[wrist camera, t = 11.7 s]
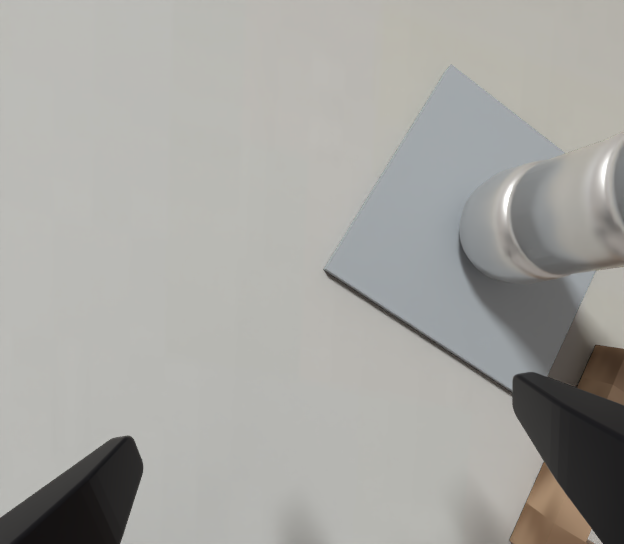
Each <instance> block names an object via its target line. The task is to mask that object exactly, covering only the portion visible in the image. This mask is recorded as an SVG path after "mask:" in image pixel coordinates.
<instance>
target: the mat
mask: <svg viewBox="0 0 624 544" xmlns="http://www.w3.org/2000/svg"><path fill="white" fill-rule="evenodd" d="M562 154H565V152H563V151H562V150H561V149H559V148H558V147H557V146H556V145H554V144H553V143H552V142H550V141H549V140H548V139H547V138H545V137H544V136H543V135H541V134H540V133H539V132H538V131H536V130H535V129H534V128H532V127H531V126H530V125H529V124H527V123H526V122H525V121H523V120H522V119H521V118H520V117H518V116H517V115H516V114H514V113H513V112H512V111H511V110H509V109H508V108H507V107H505V106H504V105H503V104H502V103H500V102H499V101H498V100H496V99H495V98H494V97H493V96H491V95H490V94H489V93H487V92H486V91H485V90H484V89H482V88H481V87H480V86H478V85H477V84H476V83H475V82H473V81H472V80H471V79H469V78H468V77H467V76H466V75H464V74H463V73H462V72H460V71H459V70H458V69H457V68H455V67H454V66H453V65H452V64H451V65H450V66H449V67H448V68H447V69H446V71H445V72H444V74H443V76H442V77H441V79H440V80H439V82H438V84H437V85H436V87H435V89H434V90H433V92H432V94H431V95H430V97H429V98H428V100H427V102H426V103H425V105H424V107H423V108H422V110H421V111H420V113H419V115H418V116H417V118H416V120H415V121H414V123H413V124H412V126H411V128H410V129H409V131H408V133H407V134H406V136H405V137H404V139H403V141H402V142H401V144H400V146H399V147H398V149H397V150H396V152H395V154H394V155H393V157H392V159H391V160H390V162H389V164H388V165H387V167H386V168H385V170H384V172H383V173H382V175H381V177H380V178H379V180H378V181H377V183H376V185H375V186H374V188H373V190H372V191H371V193H370V194H369V196H368V198H367V199H366V201H365V203H364V204H363V206H362V207H361V209H360V211H359V212H358V214H357V216H356V217H355V219H354V220H353V222H352V224H351V225H350V227H349V229H348V230H347V232H346V233H345V235H344V237H343V238H342V240H341V242H340V243H339V245H338V247H337V248H336V250H335V251H334V253H333V255H332V256H331V258H330V260H329V261H328V263H327V264H326V266H325V268H324V269H323V270H325V271H326V272H328V273H330V274H331V275H333V276H334V277H336V278H337V279H339V280H340V281H342V282H343V283H345V284H346V285H348V286H350V287H351V288H353V289H354V290H356V291H357V292H359V293H360V294H362V295H363V296H365V297H366V298H368V299H370V300H371V301H373V302H374V303H376V304H377V305H379V306H380V307H382V308H383V309H385V310H386V311H388V312H390V313H391V314H393V315H394V316H396V317H397V318H399V319H400V320H402V321H403V322H405V323H406V324H408V325H410V326H411V327H413V328H414V329H416V330H417V331H419V332H420V333H422V334H423V335H425V336H426V337H428V338H430V339H431V340H433V341H434V342H436V343H437V344H439V345H440V346H442V347H443V348H445V349H446V350H448V351H450V352H451V353H453V354H454V355H456V356H457V357H459V358H460V359H462V360H463V361H465V362H466V363H468V364H470V365H471V366H473V367H474V368H476V369H477V370H479V371H480V372H482V373H483V374H485V375H486V376H488V377H490V378H491V379H493V380H494V381H496V382H497V383H499V384H500V385H502V386H503V387H505V388H506V389H508V390H510V391H511V392H512V380H513V376H514V375H516V374H520V373H526V372H535V373H538V374H541V375H543V376H546V377H547V376H548V374H549V371H550V369H551V367H552V365H553V363H554V361H555V358H556V356H557V354H558V352H559V350H560V348H561V345H562V343H563V341H564V339H565V337H566V335H567V332H568V330H569V328H570V326H571V324H572V322H573V319H574V317H575V315H576V313H577V311H578V309H579V306H580V304H581V302H582V300H583V298H584V295H585V293H586V291H587V289H588V287H589V285H590V282H591V280H592V278H593V276H594V274H595V272H596V271H590V272H583V273H576V274H571V275H569V276H565V277H562V278H558V279H554V280H548V281H543V282H537V283H532V284H515V283H509V282H504V281H499V280H496V279H492V278H490V277H488V276H486V275H484V274H483V273H482V272H480V271H479V270H478V269H477V268H476V267H475V266H474V265H473V263H472V262H471V261H470V260H469V258H468V257H467V255H466V254H465V252H464V250H463V247H462V244H461V240H460V234H459V229H460V220H461V215H462V211H463V209H464V206H465V204H466V201H467V200H468V198H469V197H470V195H471V194H472V193H473V192H474V191H475V190H476V189H477V188H478V187H479V186H481V185H482V184H483V183H485V182H486V181H487V180H489V179H490V178H491V177H493V176H494V175H496V174H497V173H499V172H501V171H504V170H507V169H510V168H513V167H517V166H520V165H523V164H527V163H531V162H536V161H542V160H548V159H551V158H554V157H557V156H560V155H562Z"/></svg>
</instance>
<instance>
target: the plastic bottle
mask: <svg viewBox="0 0 624 544" xmlns="http://www.w3.org/2000/svg"><path fill="white" fill-rule="evenodd" d="M459 234H460V240H461V244H462V247H463V250H464V252H465V254H466V255H467V257H468V258H469V260H470V261H471V262H472V263H473V265H474V266H475V267H476V268H477V269H478V270H479V271H480V272H482V273H483V274H484V275H486V276H488V277H490V278H492V279H496V280H499V281H504V282H509V283H515V284H532V283H537V282H543V281H548V280H554V279H558V278H562V277H565V276H569V275H571V274H576V273H583V272H590V271H597V270H604V269H611V268H619V267H624V131H623V132H621V133H619V134H616V135H614V136H612V137H610V138H608V139H606V140H603V141H600V142H597V143H594V144H591V145H589V146H586V147H583V148H580V149H577V150H574V151H571V152H568V153H565V154H562V155H560V156H557V157H554V158H551V159H548V160H542V161H536V162H531V163H527V164H523V165H520V166H517V167H513V168H510V169H507V170H504V171H501V172H499V173H497V174H496V175H494V176H493V177H491V178H490V179H489V180H487V181H486V182H485V183H483V184H482V185H481V186H479V187H478V188H477V189H476V190H475V191H474V192H473V193H472V194H471V195H470V197H469V198H468V200H467V201H466V204H465V206H464V209H463V211H462V215H461V220H460V229H459Z"/></svg>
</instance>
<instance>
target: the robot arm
mask: <svg viewBox="0 0 624 544" xmlns="http://www.w3.org/2000/svg"><path fill="white" fill-rule="evenodd" d="M512 402H513V409H514V412H515V414H516V416H517V418H518V420H519V421H520V423H521V425H522V426H523V428H524V429H525V431H526V433H527V434H528V436H529V438H530V439H531V441H532V442H533V444H534V446H535V447H536V449H537V451H538V452H539V454H540V455H541V457H542V459H543V460H544V462H545V464H546V465H547V467H548V468H549V470H550V472H551V473H552V475H553V476H554V478H555V479H556V481H557V482H558V484H559V485H560V487H561V488H562V489H563V491H564V492H565V494H566V495H567V496H568V498H569V499H570V500H571V502H572V503H573V504H574V506H575V507H576V508H577V510H578V511H579V512H580V514H581V515H582V516H583V518H584V519H585V520H586V522H587V523H588V524H589V526H590V527H591V528H592V530H593V531H594V532H595V534H596V535H597V536H598V538H599V539H600V540H601V542H602V543H603V544H624V405H622V404H619V403H617V402H614V401H611V400H608V399H606V398H603V397H600V396H598V395H595V394H592V393H589V392H587V391H584V390H581V389H579V388H576V387H573V386H570V385H568V384H565V383H562V382H560V381H557V380H554V379H551V378H549V377H546V376H543V375H541V374H538V373H535V372H526V373H520V374H516V375H514V376H513V380H512ZM142 473H143V462H142V459H141V456H140V454H139V451H138V449H137V446H136V443H135V441H134V439H133V438H132V437H131V436H122V437H116V438H112V439H110V440H109V441H108V442H106V443H105V444H103V445H102V446H100V447H99V448H98V449H96V450H95V451H93V452H92V453H91V454H89V455H88V456H86V457H85V458H84V459H82V460H81V461H79V462H78V463H77V464H75V465H74V466H72V467H71V468H70V469H68V470H67V471H65V472H64V473H63V474H61V475H60V476H58V477H57V478H56V479H54V480H53V481H51V482H50V483H48V484H47V485H46V486H44V487H43V488H41V489H40V490H39V491H37V492H36V493H34V494H33V495H32V496H30V497H29V498H27V499H26V500H25V501H23V502H22V503H20V504H19V505H18V506H16V507H15V508H13V509H12V510H11V511H9V512H8V513H6V514H5V515H4V516H2V517H1V518H0V544H120V542H121V540H122V537H123V534H124V531H125V527H126V524H127V521H128V518H129V515H130V512H131V509H132V505H133V502H134V499H135V496H136V493H137V490H138V486H139V483H140V480H141V477H142Z"/></svg>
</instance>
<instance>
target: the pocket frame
mask: <svg viewBox="0 0 624 544" xmlns="http://www.w3.org/2000/svg"><path fill="white" fill-rule="evenodd" d="M577 388H579V389H581V390H584V391H587V392H589V393H592V394H595V395H598V396H600V397H603V398H606V399H608V400H611V401H614V402H617V403H619V404H622V405H624V349H621V348H614V347H607V346H600V345H596V346H595V348H594V350H593V352H592V355H591V357H590V359H589V361H588V364H587V366H586V368H585V370H584V373H583V375H582V377H581V379H580V382H579V384H578V386H577ZM591 529H592V528H591V527H590V526H589V524H588V523H587V522H586V520H585V519H584V518H583V516H582V515H581V514H580V512H579V511H578V510H577V508H576V507H575V506H574V504H573V503H572V502H571V500H570V499H569V498H568V496H567V495H566V494H565V492H564V491H563V489H562V488H561V487H560V485H559V484H558V482H557V481H556V479H555V478H554V476H553V475H552V473H551V472H550V470H549V468H548V467H547V465H546V464H545V462H544V463H543V465H542V468H541V470H540V472H539V474H538V477H537V479H536V481H535V483H534V486H533V488H532V490H531V492H530V495H529V497H528V499H527V501H526V504H525V506H524V508H523V510H522V513H521V515H520V517H519V519H518V522H517V524H516V526H515V529H514V531H513V533H512V535H511V538H510V541H511V542H512V543H513V544H594V543H593V542H591V541H589V540H588V536H589V534H590V531H591Z"/></svg>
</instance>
